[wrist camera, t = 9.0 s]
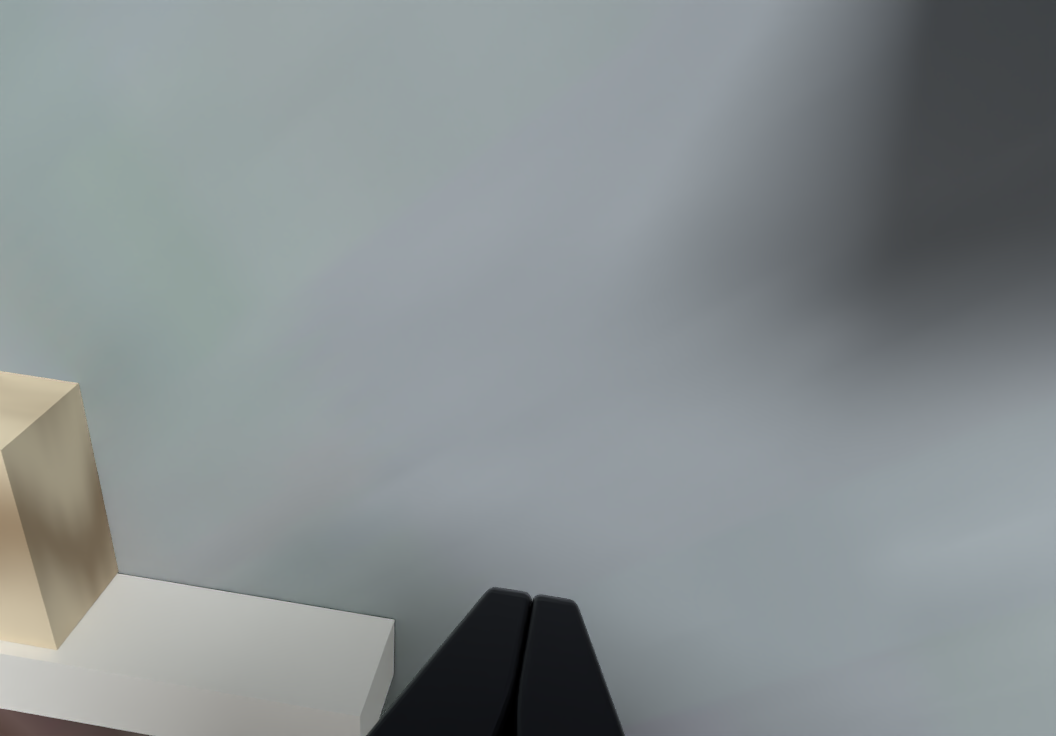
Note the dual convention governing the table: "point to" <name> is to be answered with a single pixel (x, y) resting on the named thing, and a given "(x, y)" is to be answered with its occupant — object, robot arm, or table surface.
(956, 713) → the table surface
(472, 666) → the robot arm
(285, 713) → the off-white board
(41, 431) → the birch block
